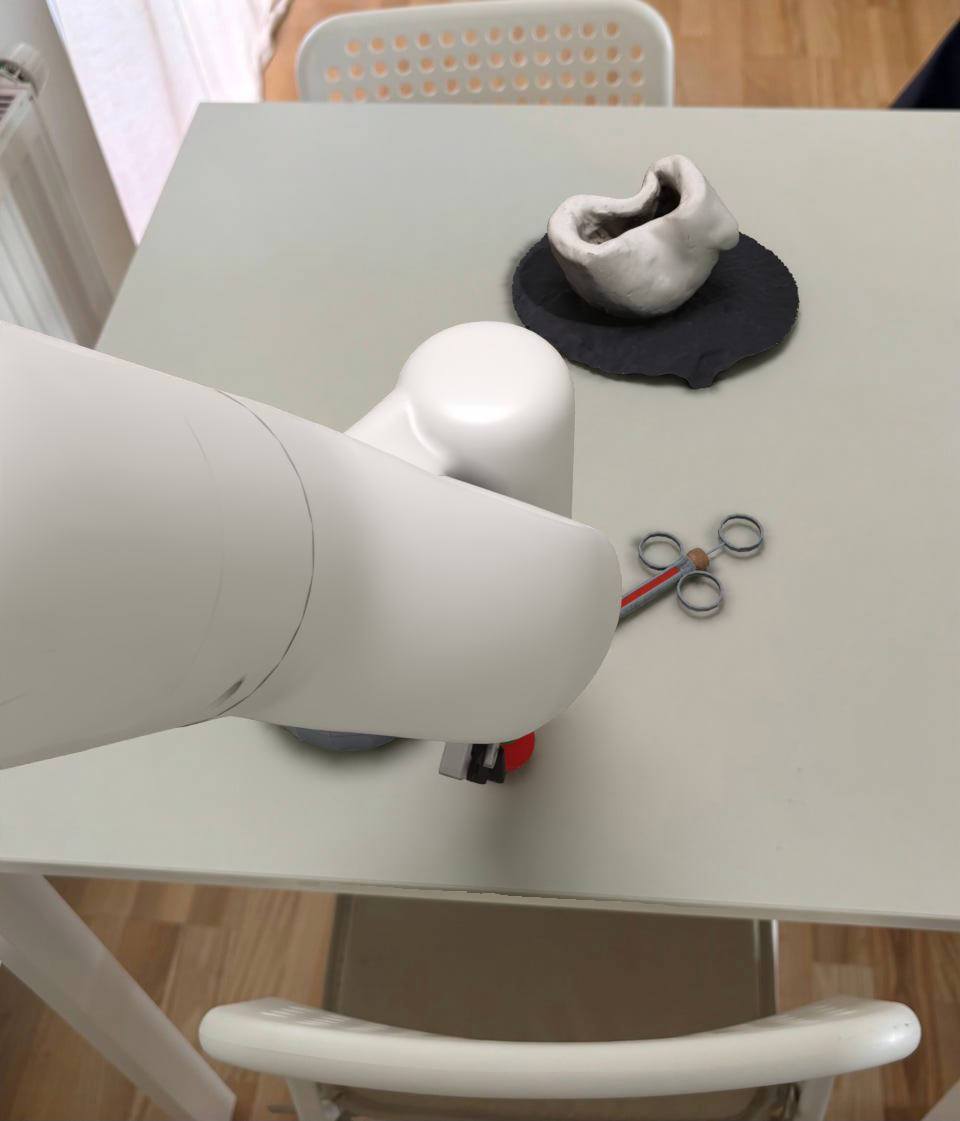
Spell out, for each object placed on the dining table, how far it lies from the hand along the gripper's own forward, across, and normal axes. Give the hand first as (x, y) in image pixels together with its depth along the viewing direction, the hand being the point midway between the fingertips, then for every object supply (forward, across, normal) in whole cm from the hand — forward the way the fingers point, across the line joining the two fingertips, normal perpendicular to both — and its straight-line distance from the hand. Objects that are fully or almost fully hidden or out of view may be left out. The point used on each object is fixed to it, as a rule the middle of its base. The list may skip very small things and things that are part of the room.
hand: (504, 703), depth 68 cm
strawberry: (+7, 0, 0) cm, 7 cm away
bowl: (+7, -3, -12) cm, 14 cm away
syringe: (+7, -16, +7) cm, 19 cm away
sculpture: (+7, -46, -1) cm, 46 cm away
